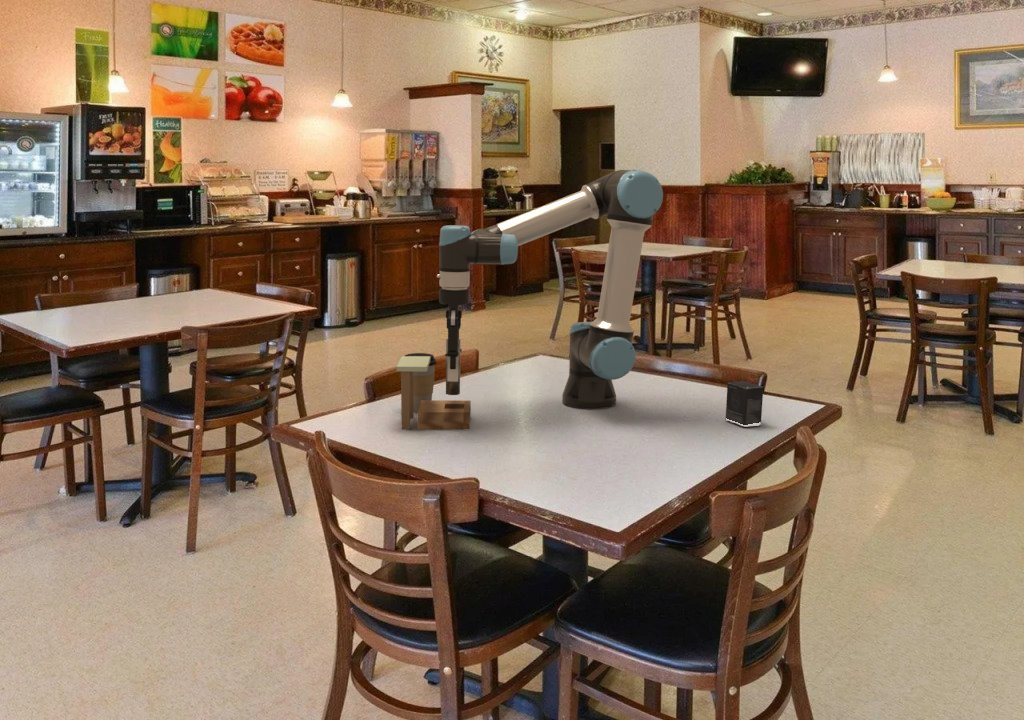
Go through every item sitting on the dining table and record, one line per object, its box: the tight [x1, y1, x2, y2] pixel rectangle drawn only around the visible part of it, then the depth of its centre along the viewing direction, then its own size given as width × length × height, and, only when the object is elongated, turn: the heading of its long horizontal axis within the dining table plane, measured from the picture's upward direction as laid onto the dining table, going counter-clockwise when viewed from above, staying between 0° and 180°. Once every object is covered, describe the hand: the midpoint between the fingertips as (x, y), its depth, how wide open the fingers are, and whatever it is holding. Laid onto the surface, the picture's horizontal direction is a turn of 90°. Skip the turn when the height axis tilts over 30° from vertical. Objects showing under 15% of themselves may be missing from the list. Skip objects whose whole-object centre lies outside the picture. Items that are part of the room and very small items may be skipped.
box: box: [725, 380, 764, 425], centre depth 243 cm, size 8×6×11 cm
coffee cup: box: [404, 352, 437, 414], centre depth 252 cm, size 9×9×15 cm
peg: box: [445, 338, 461, 396], centre depth 238 cm, size 4×4×14 cm
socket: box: [416, 399, 472, 431], centre depth 241 cm, size 13×12×4 cm
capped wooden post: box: [396, 355, 430, 430], centre depth 239 cm, size 8×13×16 cm, turn 1°
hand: (453, 379), depth 239 cm, fingers closed on peg, 3 cm apart
